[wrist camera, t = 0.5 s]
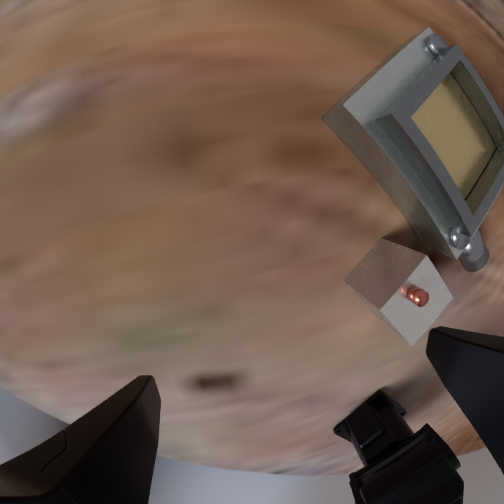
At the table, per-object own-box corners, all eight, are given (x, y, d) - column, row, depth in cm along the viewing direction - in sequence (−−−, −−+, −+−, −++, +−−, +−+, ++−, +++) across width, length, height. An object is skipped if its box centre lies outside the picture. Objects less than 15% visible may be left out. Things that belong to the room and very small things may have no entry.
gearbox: (500, 192, 22) (542, 197, 16) (445, 277, 23) (488, 298, 17) (403, 43, 18) (443, 18, 12) (321, 118, 19) (356, 96, 13)
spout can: (408, 274, 23) (463, 303, 16) (374, 313, 23) (420, 355, 16) (380, 237, 22) (438, 259, 15) (342, 280, 22) (389, 318, 15)
